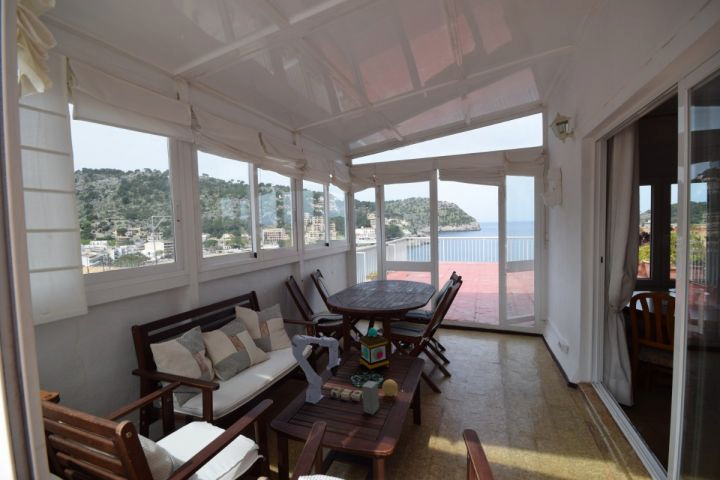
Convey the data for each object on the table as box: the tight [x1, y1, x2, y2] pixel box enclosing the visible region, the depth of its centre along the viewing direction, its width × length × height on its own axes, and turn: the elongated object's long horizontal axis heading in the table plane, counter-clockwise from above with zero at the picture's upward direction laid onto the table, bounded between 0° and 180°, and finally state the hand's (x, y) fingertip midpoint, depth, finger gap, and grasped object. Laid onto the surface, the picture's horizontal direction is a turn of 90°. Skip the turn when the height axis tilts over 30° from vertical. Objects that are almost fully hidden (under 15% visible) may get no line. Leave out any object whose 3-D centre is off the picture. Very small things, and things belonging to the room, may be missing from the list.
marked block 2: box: [351, 389, 363, 402], centre depth 200 cm, size 5×5×4 cm
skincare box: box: [361, 380, 380, 415], centre depth 187 cm, size 8×7×16 cm
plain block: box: [340, 389, 353, 401], centre depth 201 cm, size 5×5×4 cm
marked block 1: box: [330, 386, 343, 399], centre depth 204 cm, size 5×5×4 cm
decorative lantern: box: [358, 327, 390, 373], centre depth 242 cm, size 20×20×30 cm
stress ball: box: [381, 378, 399, 397], centre depth 201 cm, size 10×10×10 cm
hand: (334, 375), depth 211 cm, fingers closed
